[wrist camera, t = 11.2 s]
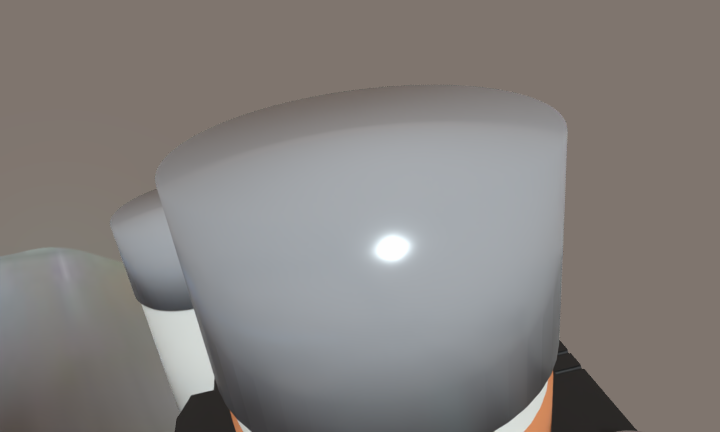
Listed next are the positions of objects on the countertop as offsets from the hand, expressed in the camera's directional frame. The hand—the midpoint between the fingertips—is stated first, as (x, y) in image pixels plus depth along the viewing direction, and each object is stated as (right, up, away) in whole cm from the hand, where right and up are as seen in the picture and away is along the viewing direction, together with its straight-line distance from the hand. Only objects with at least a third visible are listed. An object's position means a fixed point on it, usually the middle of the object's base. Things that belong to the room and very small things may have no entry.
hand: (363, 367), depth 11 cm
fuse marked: (+2, -9, +1) cm, 9 cm away
